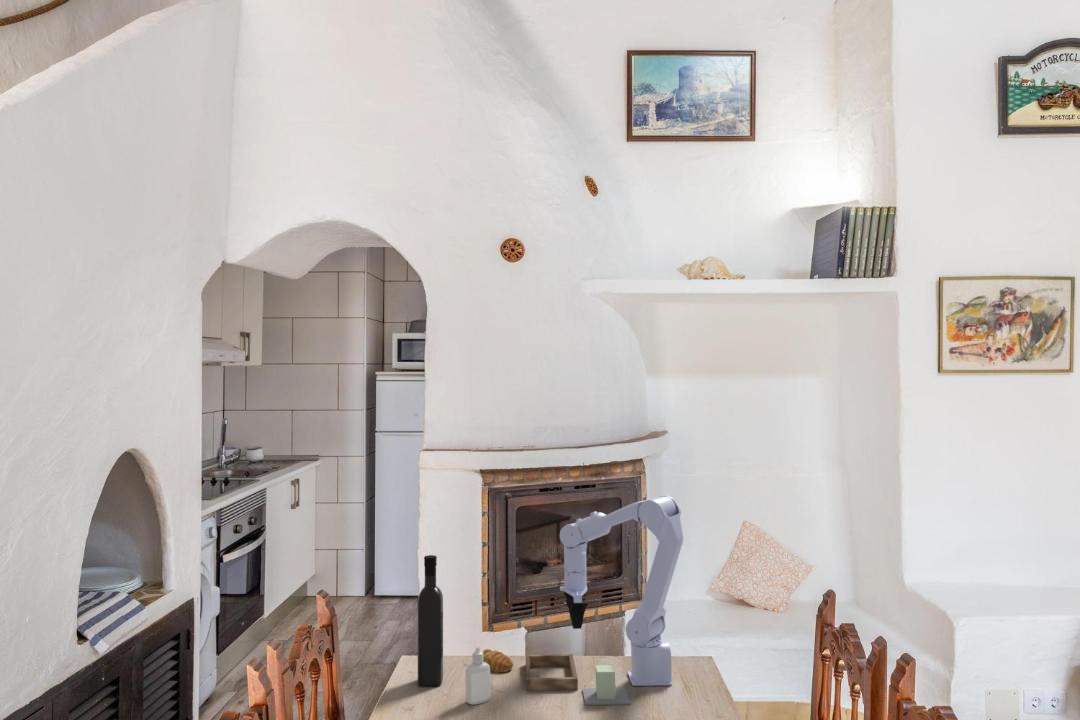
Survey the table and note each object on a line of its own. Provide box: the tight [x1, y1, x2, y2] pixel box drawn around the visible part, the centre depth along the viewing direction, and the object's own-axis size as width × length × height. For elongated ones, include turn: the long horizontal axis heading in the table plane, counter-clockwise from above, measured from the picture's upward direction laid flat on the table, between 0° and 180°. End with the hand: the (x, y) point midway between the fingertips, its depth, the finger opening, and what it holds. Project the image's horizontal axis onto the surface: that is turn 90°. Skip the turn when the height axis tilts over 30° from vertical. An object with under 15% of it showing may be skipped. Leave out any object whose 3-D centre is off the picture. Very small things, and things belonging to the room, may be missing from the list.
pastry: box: [482, 648, 514, 673], centre depth 185 cm, size 9×7×4 cm
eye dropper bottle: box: [465, 646, 491, 706], centre depth 165 cm, size 4×6×12 cm
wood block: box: [595, 664, 616, 699], centre depth 166 cm, size 4×4×6 cm
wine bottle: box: [417, 554, 444, 687], centre depth 176 cm, size 6×6×30 cm
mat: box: [581, 687, 631, 706], centre depth 166 cm, size 10×8×1 cm
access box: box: [525, 653, 579, 692], centre depth 178 cm, size 12×16×2 cm
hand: (575, 623), depth 188 cm, fingers open, 7 cm apart
